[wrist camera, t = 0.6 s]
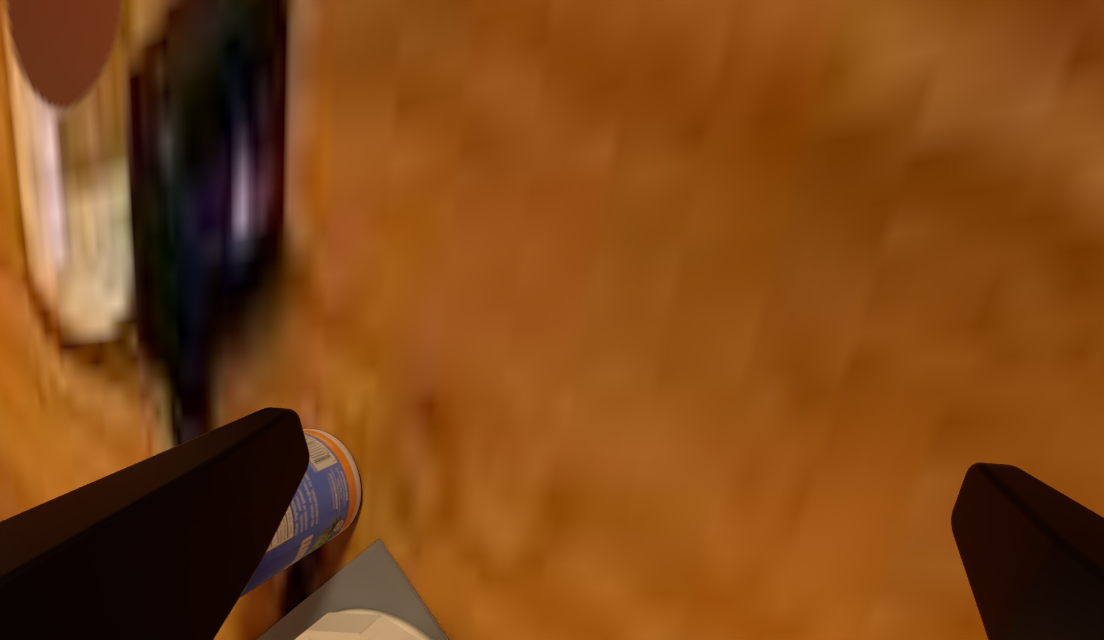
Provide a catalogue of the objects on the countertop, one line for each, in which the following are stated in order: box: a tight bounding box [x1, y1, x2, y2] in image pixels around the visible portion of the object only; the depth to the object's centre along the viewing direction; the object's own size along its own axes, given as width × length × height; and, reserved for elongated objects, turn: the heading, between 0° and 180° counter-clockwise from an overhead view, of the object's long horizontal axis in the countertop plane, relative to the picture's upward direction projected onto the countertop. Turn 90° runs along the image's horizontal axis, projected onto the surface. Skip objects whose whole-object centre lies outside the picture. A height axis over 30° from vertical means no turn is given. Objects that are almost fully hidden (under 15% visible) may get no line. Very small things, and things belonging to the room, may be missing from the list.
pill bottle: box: [240, 429, 361, 597], centre depth 23 cm, size 5×5×10 cm
